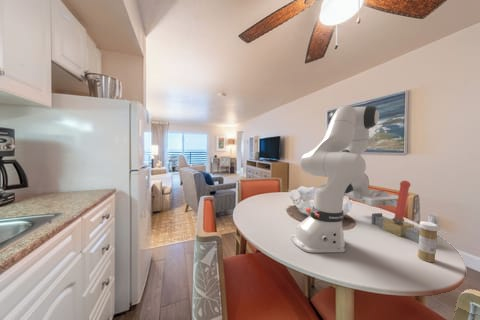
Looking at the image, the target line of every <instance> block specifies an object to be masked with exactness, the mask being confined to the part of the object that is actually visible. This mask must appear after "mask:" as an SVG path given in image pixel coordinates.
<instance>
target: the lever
mask: <svg viewBox="0 0 480 320" xmlns="http://www.w3.org/2000/svg"><path fill="white" fill-rule="evenodd" d="M399 186H400V187H399V191H398V196H399V197H398V202H397V207H395V212H394V213H395V214H394V217H393V218H392V219H393V221H394V222H403V221H405V218H404V215H405V210H406V205H407V201H408V194H409V190H410V187H411V183H410V181H407V180H401V181H400V183H399Z"/></svg>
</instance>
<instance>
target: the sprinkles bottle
mask: <svg viewBox="0 0 480 320" xmlns="http://www.w3.org/2000/svg"><path fill="white" fill-rule="evenodd" d="M419 229H420V235H419V244H418V246H417V247H418V252H417V257H418V258H419V259H421V260H422V261H425V262H428V263H436V253H437V235H438V231H439V225H438V224H436V223H434V222H430V221H423V220H422V221H419Z"/></svg>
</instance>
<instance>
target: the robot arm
mask: <svg viewBox="0 0 480 320" xmlns="http://www.w3.org/2000/svg"><path fill="white" fill-rule="evenodd" d="M379 119H380V113H379V109H378V108H377V107H376V106H373V105H366V106H351V105H342V106H340V107H338V108H336V109H334V110H332V111H330V113H329V114H328V117H327V122H328V126H327V128H326V132H325V134H324V136H323V137H322V139H321V140H320V142H319V143H318V144H317V145H316V146H315V147H314V148H313V149H311V150H309V151H307V152H305V153H304V154H303V155H302V157H301V158H300V163H299V164H300V167H301V168H300V169H301V170H302V171H303V173H306V174H308V175H312V176H316V177H317V176H318V177H324V178H327V182H326V184H325V183H324V184H325V185H324V184H322V185H320V186H318V187H317V188H316V189H315V190H314V198H313V199H314V203H313V205H314V206H312V209H311V208H309V207H306V208H305V211H306V213H308V214H309V216H307V217H306V218H305V219H304V220H302V221H301V222H300V223H298V224H297V226H296V229H295V232H294V233H291V234H290V240H291V241H292V242H293V244H294V245H296V246H297V247H298V248H299V249H300V250H302V251H304V252H306V253H345V251H346V249H345V247H346V240H345V237H344V229H343V220H344V209H343V204H344V197H345V195H346V196H347V198H350V199H351V200H354V201H357V202H361V203H363V204H364V205H367V206H369V207H374V208H375V207H387V206H389V207H395V208H396V207H397V202H398V197H399V195H395V194H392V193H387V191H383V190H376V189H371V188H370V187H369V186H370V181H369V176H368V175H367V174H366V173H365V171H366V168H367V166H366V165H367V164H366V160H365V158H364V157H363V156H362V154H363V153H364V152H366V151H367V149H369V143H370V131H369V130H370V129H371V128H374V127H376V125H377V124H378V122H379Z"/></svg>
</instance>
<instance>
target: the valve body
mask: <svg viewBox="0 0 480 320" xmlns="http://www.w3.org/2000/svg"><path fill="white" fill-rule="evenodd" d="M371 224H372V225H376V226H378V227H380V228H382V230H384V231H386V232H388V233H391V234H393V235H395V236H398V237H400V238H402V237H404V238H406V239H408V240H410V241H412V242H413V241H414V242H415V243H417V244H418V245H419V235H420V228H417V227H415V225H414V224H413V223H409V222H407V221H405V220H404V221H403V222H394V221H393V218H389V217H387V216H384V215H383V213H382V212H374V213H371Z"/></svg>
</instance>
